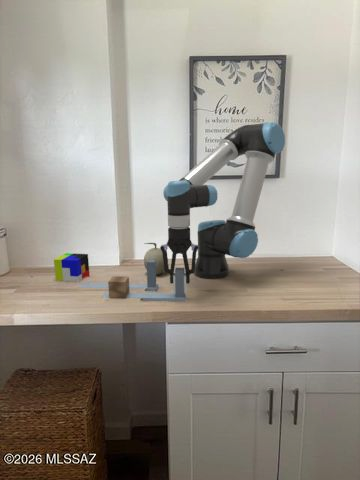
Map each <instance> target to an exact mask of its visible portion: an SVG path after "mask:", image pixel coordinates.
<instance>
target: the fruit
mask: <svg viewBox="0 0 360 480" xmlns="http://www.w3.org/2000/svg"><path fill="white" fill-rule="evenodd" d="M144 244H145V245H153V246H154V247H152V248H150V249H148V250H147V251H146V252H145V254H144V257H143V264H144V268H145V270H146V271H147V263H146V262H147V261H148V260H156V276H158V275H161V274H163V273H165V270H164V262H163V253H162V251H161V249H160V247H157V243H156V242H146V243H144Z"/></svg>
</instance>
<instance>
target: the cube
mask: <svg viewBox="0 0 360 480" xmlns="http://www.w3.org/2000/svg"><path fill="white" fill-rule="evenodd" d="M107 283H108V288H107V289H108V292H109V299H127V298H126V297H127V295H128V294H129V292H130V288H129V284H130V277H129V276H127V275H126V276H124V275H123V276H119V275H118V276H116V275H115V276H114V275H112V276H111V278H110V279H108V281H107ZM130 293H131V292H130Z"/></svg>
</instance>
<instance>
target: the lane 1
mask: <svg viewBox="0 0 360 480" xmlns="http://www.w3.org/2000/svg"><path fill="white" fill-rule="evenodd" d="M146 263H147V270H146V283H129V289H144V291H145V292H157V291H158V288H159V283H157V275H156V260H148V261H147V262H146Z"/></svg>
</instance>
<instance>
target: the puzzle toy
mask: <svg viewBox="0 0 360 480" xmlns="http://www.w3.org/2000/svg"><path fill="white" fill-rule="evenodd" d="M89 263H90V262H89V254H88V253H69V252H68V253H64V254H62V255H60V256H58V257H55V258H54V259H53V264H54V266H53V267H54V276H55V281H58V282H74V283H79V282H81V280H83V279H85V278H86V277H90V265H89Z"/></svg>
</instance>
